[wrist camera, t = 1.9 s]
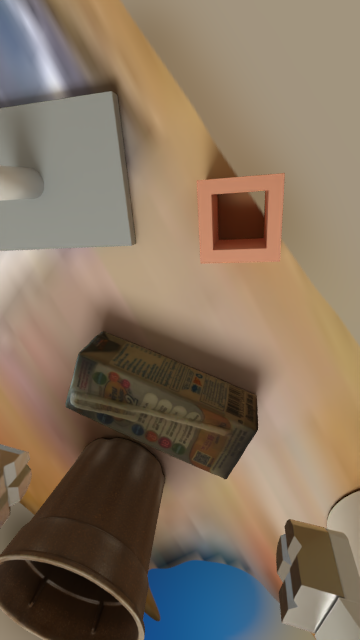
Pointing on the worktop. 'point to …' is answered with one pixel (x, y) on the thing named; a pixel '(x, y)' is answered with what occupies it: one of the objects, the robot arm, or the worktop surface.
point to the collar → (240, 248)
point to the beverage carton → (163, 403)
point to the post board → (64, 175)
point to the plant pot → (87, 549)
